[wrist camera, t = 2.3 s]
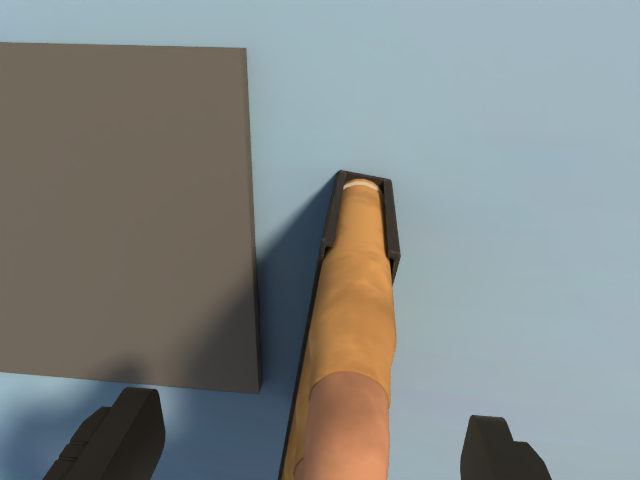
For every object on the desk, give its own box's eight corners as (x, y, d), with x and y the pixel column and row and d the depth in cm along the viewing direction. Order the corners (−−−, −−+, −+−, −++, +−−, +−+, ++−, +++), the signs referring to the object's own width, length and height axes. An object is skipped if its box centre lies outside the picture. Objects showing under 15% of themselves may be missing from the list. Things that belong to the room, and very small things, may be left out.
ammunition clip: (337, 168, 15) (251, 547, 4) (392, 178, 15) (463, 590, 4) (293, 405, 19) (196, 884, 8) (335, 414, 19) (293, 905, 8)
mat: (246, 47, 13) (240, 48, 13) (262, 383, 19) (258, 394, 18) (-234, 37, 15) (-258, 37, 14) (-89, 354, 20) (-102, 363, 20)
